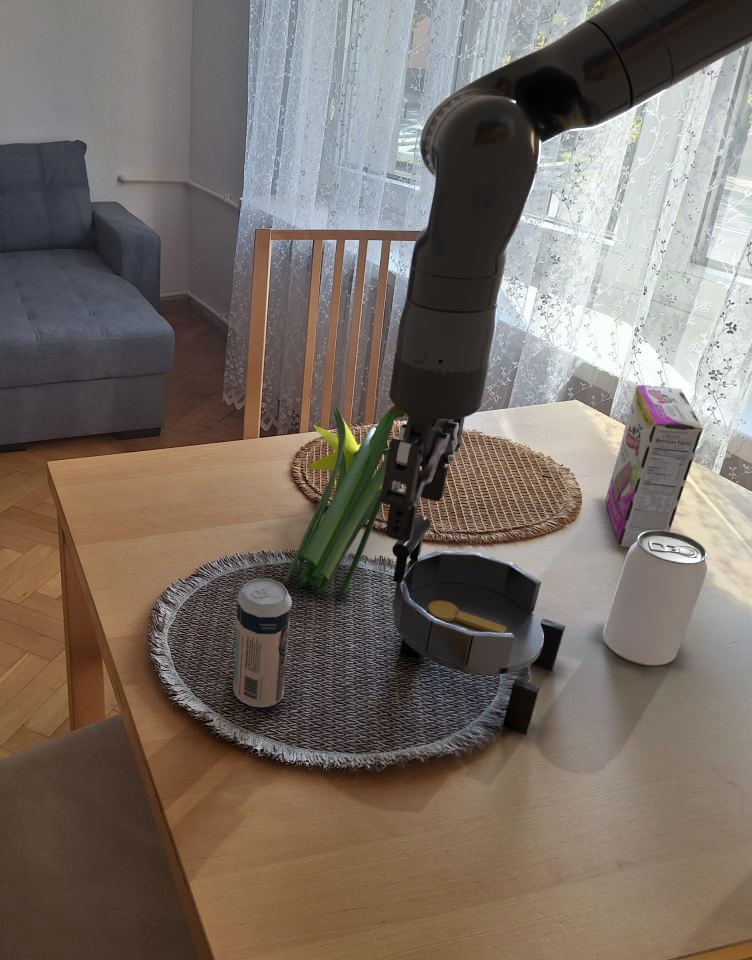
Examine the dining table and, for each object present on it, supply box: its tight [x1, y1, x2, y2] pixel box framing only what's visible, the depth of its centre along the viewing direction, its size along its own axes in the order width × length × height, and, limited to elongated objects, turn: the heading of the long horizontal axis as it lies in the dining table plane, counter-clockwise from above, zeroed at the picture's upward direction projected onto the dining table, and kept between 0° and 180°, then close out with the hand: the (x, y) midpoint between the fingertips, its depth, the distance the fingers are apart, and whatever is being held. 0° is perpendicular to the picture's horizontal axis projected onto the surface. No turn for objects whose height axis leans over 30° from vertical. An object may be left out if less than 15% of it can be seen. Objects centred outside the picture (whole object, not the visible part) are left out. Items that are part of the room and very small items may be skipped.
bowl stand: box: [399, 618, 566, 736], centre depth 82 cm, size 13×11×5 cm
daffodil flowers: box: [281, 404, 408, 597], centre depth 104 cm, size 17×15×35 cm
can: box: [602, 530, 708, 667], centre depth 83 cm, size 6×6×12 cm
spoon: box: [428, 600, 506, 633], centre depth 81 cm, size 7×3×1 cm, turn 54°
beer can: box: [232, 578, 293, 708], centre depth 79 cm, size 5×5×12 cm
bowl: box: [391, 515, 544, 676], centre depth 79 cm, size 14×13×9 cm
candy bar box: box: [604, 384, 704, 550], centre depth 101 cm, size 11×5×16 cm, turn 161°
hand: (414, 516), depth 80 cm, fingers open, 8 cm apart
